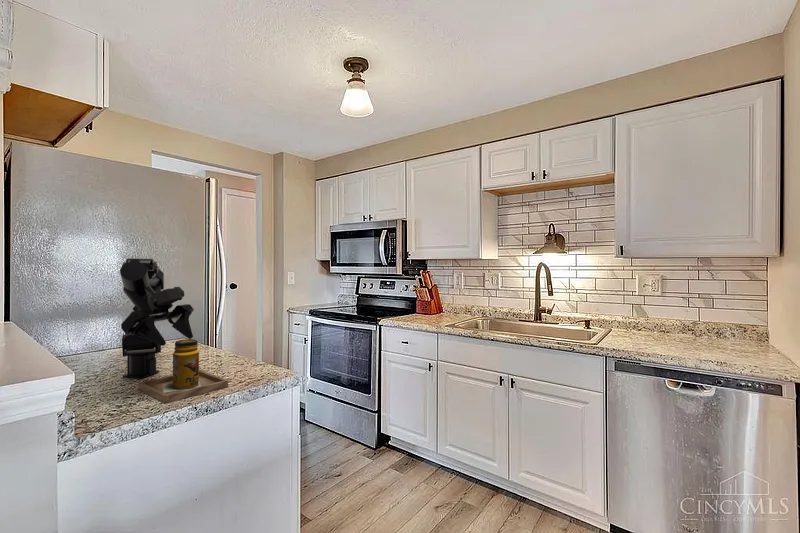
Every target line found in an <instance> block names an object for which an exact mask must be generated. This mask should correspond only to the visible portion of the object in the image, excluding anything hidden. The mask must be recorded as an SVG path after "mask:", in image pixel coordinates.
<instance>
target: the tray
mask: <svg viewBox="0 0 800 533" xmlns="http://www.w3.org/2000/svg"><path fill="white" fill-rule="evenodd" d="M199 382H200V385H201V386H200V387H196V388H192V389H188V390H180V391H172V392H166V393H163V384H167V383H173V375H170V376H164V377H159V378H154V379H151V380H146V381H141V382H138V387H137V388H138V391H141V392H143V393H144V394H146V395H148V396H150V397H151V398H154V399H155V398H156V400H157V399H158V401H160V402H161V403H163V404H169V403H172V402H176V401H181V400H184V399H187V398H192V397H195V396H199V395H203V394H207V393H212V392H214V391H219V390H222V389H225V388H226V389H227V388H228V387H229V380H228V379H225V378H224V377H223V378H222V377H219V376H217V375H214V374H212V373H210V372H209V373H208V372H206V371H203V370H200V369H199Z"/></svg>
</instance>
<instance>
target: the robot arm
mask: <svg viewBox="0 0 800 533" xmlns="http://www.w3.org/2000/svg"><path fill="white" fill-rule="evenodd" d="M119 274H120V278H121V282H122V285H123V288H122V291H123V292H124V294H125V295H126V296H127V298H128V299H129V300H130V302H131V303H132V304H133V305H134V306H133V307H132V310H133V311H131V312H130V313H128V314H129V315H127V316H126V317H125V319H124V320H123V321H122V322H121V324H120V327H121V328H120V329H121V330H122V332H123V333H124V334H123V335H122V336H121V337H122V338H121V348H122V349H121V350H122V352H121V353H122V357H126V358H127V362H126V364H127V365H126V366H127V367H126V372H127V373H125V374H123V375H122V378H134V379H144V378H148V377H150V376H151V375H154V374H157V373H160V370H158V369H157V358H156V355H157V354H159V353H161V351H162V347H164V346H166V344H167V342H166V340H165V338H164V337H163V335H162V334H161V332H160V331H159V330H158V328H157V327H156V325H155V323H157V322H161V321H163V322H164V321H168V322H169V324H171V327H172V328H173V329H175V330H176V331H177V332H179V333H180V334H181V335H182V336H184V337H185V338H187V339H193V337H194V334H193V332H192V328H191V324H190V316H191V315H192V313H193V312H194V311H195V309H194V307H193V306H192V305H191V304H189V303H188V304H187V303H183V304H178V305H176V306H175V307H174V305H173V304H174V303H176V302H178V301H182V300H183V298H184V297H185V291H184V290H183V289H182V288H181V287H180V286H173V287H171V288H166V289H165V274H164V272H163V271H162V270H161V269H160V267H159V266H158V263H157V261H155V260H154V259H153V258H139V257H138V258H134V257H133V258H129V257H128V258H126V259H125V261H124V262H122V265H121V267H120V269H119ZM172 307H174V308H173V309H172ZM169 309H170V310H171V309H172V310H171V311H170V310H169Z"/></svg>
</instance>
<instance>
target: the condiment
mask: <svg viewBox="0 0 800 533" xmlns="http://www.w3.org/2000/svg"><path fill="white" fill-rule="evenodd" d="M198 343H199V342H198V340H197V339H195V338H194V339H193V338H191V339H189V338H187V339H186V338H185V339H180V340H176V341H175V342H174V348H173V349H174V351H173V353H172V376H173V383H167V384H163V393H166V392H172V391H180V390H188V389H192V388H196V387H200V386H201V385H200V382H199V370H200V350H199V349H198V348H199V347H198Z"/></svg>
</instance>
